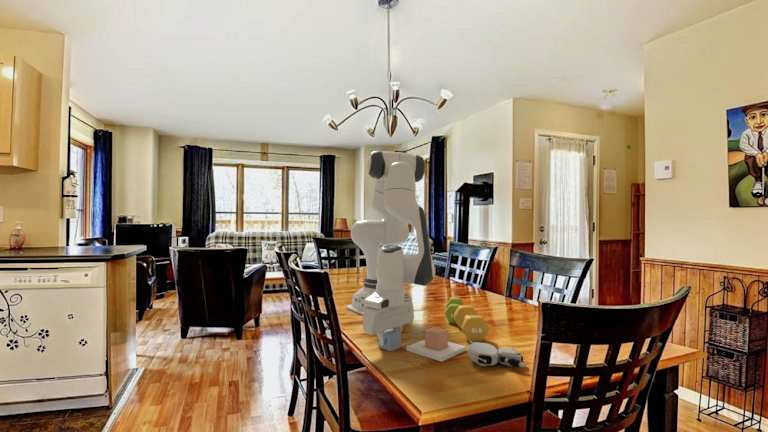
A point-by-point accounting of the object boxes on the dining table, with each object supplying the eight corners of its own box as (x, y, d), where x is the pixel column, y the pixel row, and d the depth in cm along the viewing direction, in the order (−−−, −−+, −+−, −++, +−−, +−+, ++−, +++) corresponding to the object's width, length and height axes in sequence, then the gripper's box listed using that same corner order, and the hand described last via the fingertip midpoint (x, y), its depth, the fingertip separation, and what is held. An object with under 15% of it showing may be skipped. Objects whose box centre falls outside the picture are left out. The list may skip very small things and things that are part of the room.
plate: (406, 350, 120) (406, 346, 120) (431, 340, 129) (431, 336, 129) (441, 361, 111) (441, 357, 111) (466, 350, 120) (466, 346, 120)
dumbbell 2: (490, 343, 128) (490, 318, 128) (462, 342, 128) (462, 317, 128) (476, 326, 147) (477, 304, 147) (452, 326, 147) (452, 304, 147)
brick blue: (378, 347, 122) (378, 331, 122) (389, 343, 126) (389, 328, 126) (390, 351, 119) (390, 334, 119) (400, 347, 122) (401, 331, 122)
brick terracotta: (424, 346, 120) (425, 329, 120) (434, 342, 123) (434, 326, 123) (438, 350, 116) (438, 333, 116) (447, 346, 120) (448, 329, 120)
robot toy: (518, 360, 115) (466, 353, 117) (520, 345, 115) (467, 338, 117) (526, 377, 103) (468, 369, 105) (528, 360, 103) (469, 352, 105)
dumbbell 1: (446, 313, 166) (446, 296, 165) (465, 314, 164) (465, 297, 164) (444, 324, 149) (444, 305, 149) (465, 325, 148) (465, 306, 148)
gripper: (403, 291, 132) (403, 332, 132) (359, 301, 117) (359, 347, 117) (418, 294, 128) (418, 336, 128) (374, 304, 113) (374, 352, 113)
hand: (389, 342), depth 122 cm, fingers closed on brick blue, 5 cm apart
